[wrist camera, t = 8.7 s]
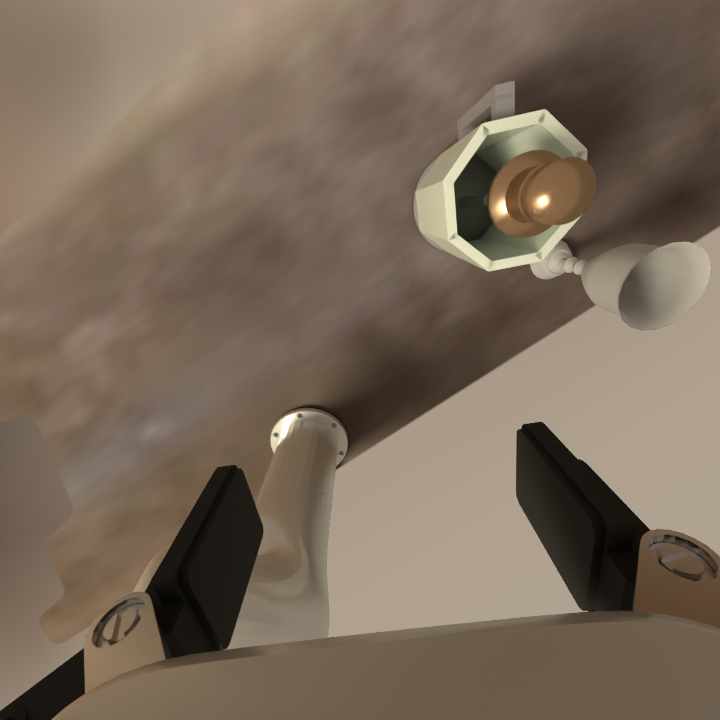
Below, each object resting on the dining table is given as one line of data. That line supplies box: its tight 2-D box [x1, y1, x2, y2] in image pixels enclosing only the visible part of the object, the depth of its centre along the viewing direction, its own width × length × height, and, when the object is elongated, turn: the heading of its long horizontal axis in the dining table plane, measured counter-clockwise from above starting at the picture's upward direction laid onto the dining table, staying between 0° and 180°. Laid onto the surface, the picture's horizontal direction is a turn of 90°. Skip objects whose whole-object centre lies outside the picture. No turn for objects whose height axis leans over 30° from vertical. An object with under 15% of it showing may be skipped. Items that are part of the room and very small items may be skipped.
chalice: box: [530, 240, 711, 330], centre depth 35 cm, size 7×7×18 cm
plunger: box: [459, 150, 597, 237], centre depth 30 cm, size 6×6×21 cm
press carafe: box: [413, 81, 587, 271], centre depth 33 cm, size 14×12×16 cm
